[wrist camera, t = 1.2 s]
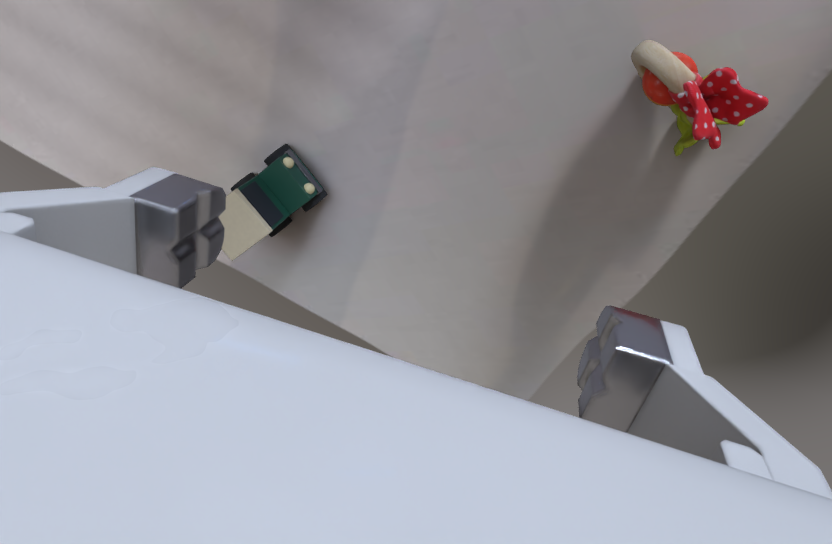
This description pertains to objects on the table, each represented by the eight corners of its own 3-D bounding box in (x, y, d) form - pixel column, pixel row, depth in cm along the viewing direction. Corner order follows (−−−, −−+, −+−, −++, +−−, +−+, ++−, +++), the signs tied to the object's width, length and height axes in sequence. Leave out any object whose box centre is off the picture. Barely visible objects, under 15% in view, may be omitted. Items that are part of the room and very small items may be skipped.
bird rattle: (614, 97, 45) (698, 175, 43) (577, 80, 36) (683, 178, 34) (676, 30, 42) (770, 110, 40) (654, -7, 33) (775, 95, 31)
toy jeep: (276, 232, 56) (234, 269, 49) (237, 185, 54) (188, 216, 47) (336, 187, 52) (301, 220, 45) (296, 136, 51) (253, 162, 43)
